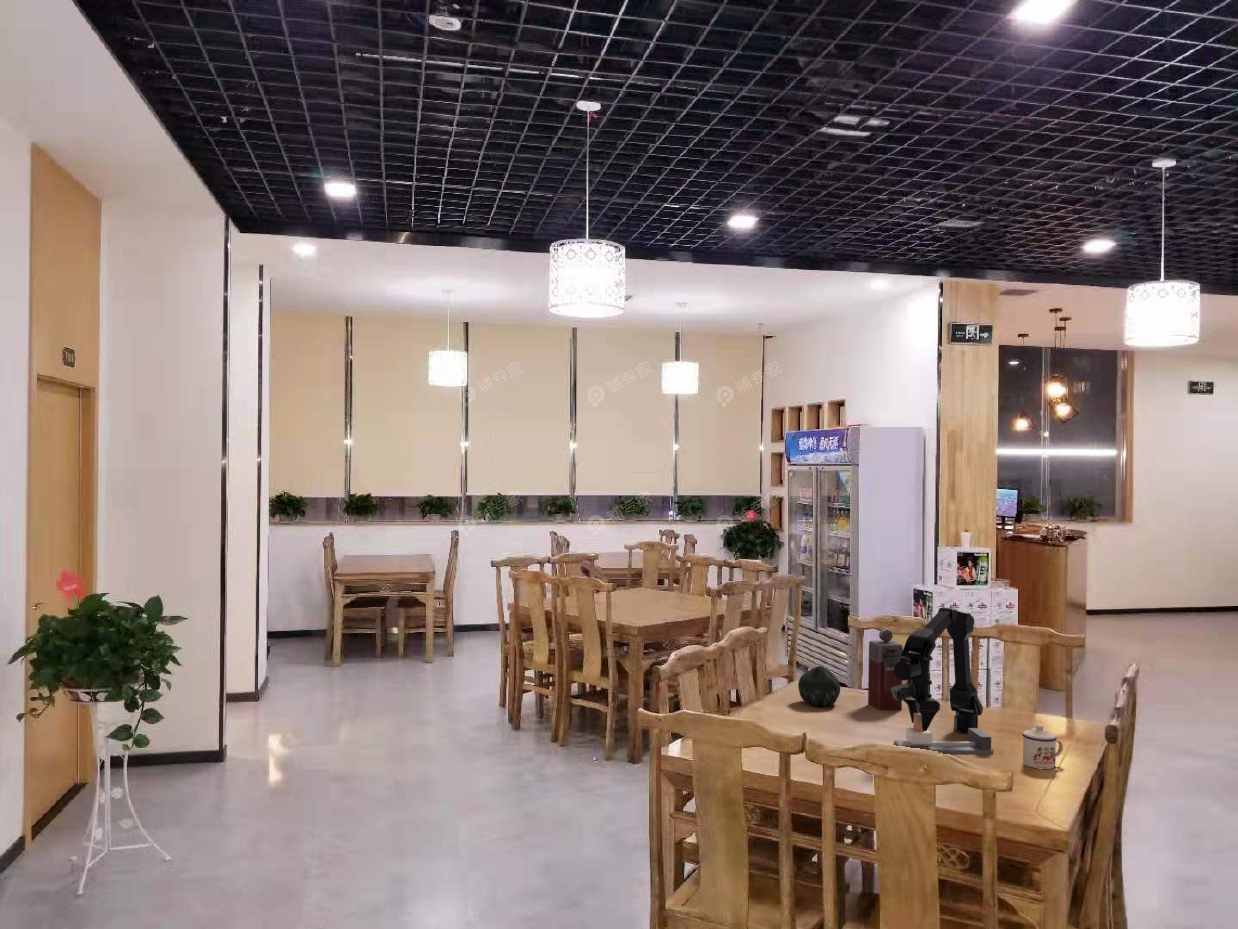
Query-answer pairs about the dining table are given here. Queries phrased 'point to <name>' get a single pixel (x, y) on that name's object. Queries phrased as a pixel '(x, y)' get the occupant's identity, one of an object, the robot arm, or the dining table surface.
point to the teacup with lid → (1040, 748)
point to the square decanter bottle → (883, 672)
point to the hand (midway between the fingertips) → (919, 727)
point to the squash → (819, 687)
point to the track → (957, 744)
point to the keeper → (918, 732)
